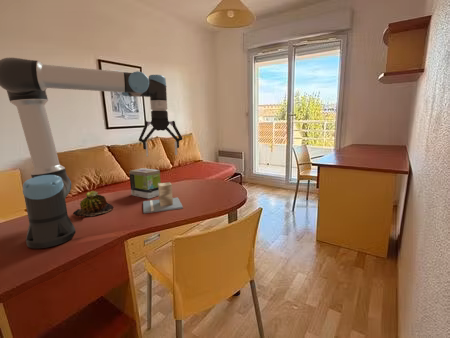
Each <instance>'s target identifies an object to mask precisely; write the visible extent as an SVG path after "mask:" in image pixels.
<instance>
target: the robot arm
mask: <svg viewBox="0 0 450 338" xmlns="http://www.w3.org/2000/svg"><path fill="white" fill-rule="evenodd" d="M0 87H1V88H2V89H4V90H5V91H6V93H7V96H8V100H9V102H10V103H11V105H14V106H15V107H16V109H17V113H18V116H19V119H20V123H21V127H22V130H23V134H24V137H25V138H24V139H25V141H26V144H27V149H28V151H29V155H30V158H31V162H32V166H33V170H32V171H31V172H30V176H31V178H27V179H26V180H25V181H24V182H23V184H22V195H23V197H24V202H25V208H26V213H27V218H28V223H29V224H28V228H27V233H26V238H25V243H26V246H27V247H28V248H30V249H44V248H45V249H47V248H50V247H51V248H52V247H56V246H57V245H61V244H64V243H66V242H68V241H70V240H71V239H73V238H74V236H75V234H76V228H75V227H76V226H74V224H73V221H72V219H70V217H69V215H68V208H67V202H66V198H67V196H68V195H69V194H70V192H71V189H72V181H71V180H70V178H69V175H68V174H67V171H66V167H65V166H63V165H61V164H60V161H59V156H58V152H57V148H56V144H55V141H54V137H53V133H52V129H51V126H50V123H49V122H50V121H49V118H48V117H49V116H48V113H47V110H46V106H45V105H46V104H47V103H48V101H49V98H48V95H47V91H46V90H47V89H54V90H55V89H56V90H57V89H58V90H75V91H76V90H77V91H78V90H79V91H91V92H92V91H95V92H112V93H113V92H114V93H121V95H122V96H123V97H129V98H130V97H139V98H140V97H142V98H143V97H145V98H149V100H150V110H151V111H150V116H151V118H150V119H151V121H147V120H145V121H144V126H143V129H142V131H141V133H140V136H139V138H138V142H141V143H142V147H143V150H145V155H146V157H149V148H148V139H149V138H150V137H151V136H152V134H153V133H154V132H155V131H166V132H168V134H169V135H170V136H171V137H172V138H173V139H174V140H175V141H173V142H174V155H175V156H178V149H180V141H183V139H184V138H183V136H182V134H181V133H180V131H179V129H178V127H177V126H176V121H175V120H172V121H169V113H168V111H167V110H168V96H167V95H168V93H167V81H166V77H165V76H164V75H161V74H150V75H149V76H147V75H146V74H145V73H144V72H142V71H133V72H128V71H115V70H106V69H105V70H104V69H96V68H95V69H94V68H84V67H74V66H63V65H61V66H60V65H53V64H44V63H43V62H41V61H40V60H35V59H26V58H18V57H4V58H1V59H0ZM150 125H151V126H152V128H151V130H150V131H149V132H148V133H147V135H146V136H145V137H144V135H145V133H146V130H147V128H148V127H149V126H150ZM169 125H170V126H171V127H172V128H173V130H174V131H175V133H174V132H173V131H172V130H171V129H170V128H169V127H168V126H169ZM175 134H176V135H177V136H176V135H175Z"/></svg>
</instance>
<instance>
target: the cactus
mask: <svg viewBox="0 0 450 338" xmlns="http://www.w3.org/2000/svg"><path fill="white" fill-rule="evenodd" d="M98 193H99V192H98V191H96V190H95V191H94V190H91V191H87V193H85V196H86V197H83V200H81V201H79V202H80V203H79V206H80V208H78V209H76V210H75V211H73V213H72V214H73V215H74V216H78V217H94V216H97V215H101V214H104V213H108V212H110V211H112V210H113V209H114V206H113V205H112V204H111V203H109V202H108V201H107V197H106V198H105V196H104V195H102V194H98Z"/></svg>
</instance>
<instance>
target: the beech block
mask: <svg viewBox="0 0 450 338" xmlns="http://www.w3.org/2000/svg"><path fill="white" fill-rule="evenodd" d="M172 185H173V184H172V183H171V181H169V182H161V183H158V188H159V196H158V197H159V198H158V200H159V202H160V206H166V205H173V198H174V197H173V186H172Z"/></svg>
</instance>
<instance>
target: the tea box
mask: <svg viewBox="0 0 450 338" xmlns="http://www.w3.org/2000/svg"><path fill="white" fill-rule="evenodd" d="M128 172H129V181H130V183H129V184H130V192H131V193H130V195H131V196H135V197H138V198H143V199H147V200H149V199H150V200H151V199H152V198H157V197H159V188H158V183H162V182H161V171H160V169H155V168H154V169H153V168H146V167H145V168H143V167H142V168H136V169H132V170H129V171H128Z"/></svg>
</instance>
